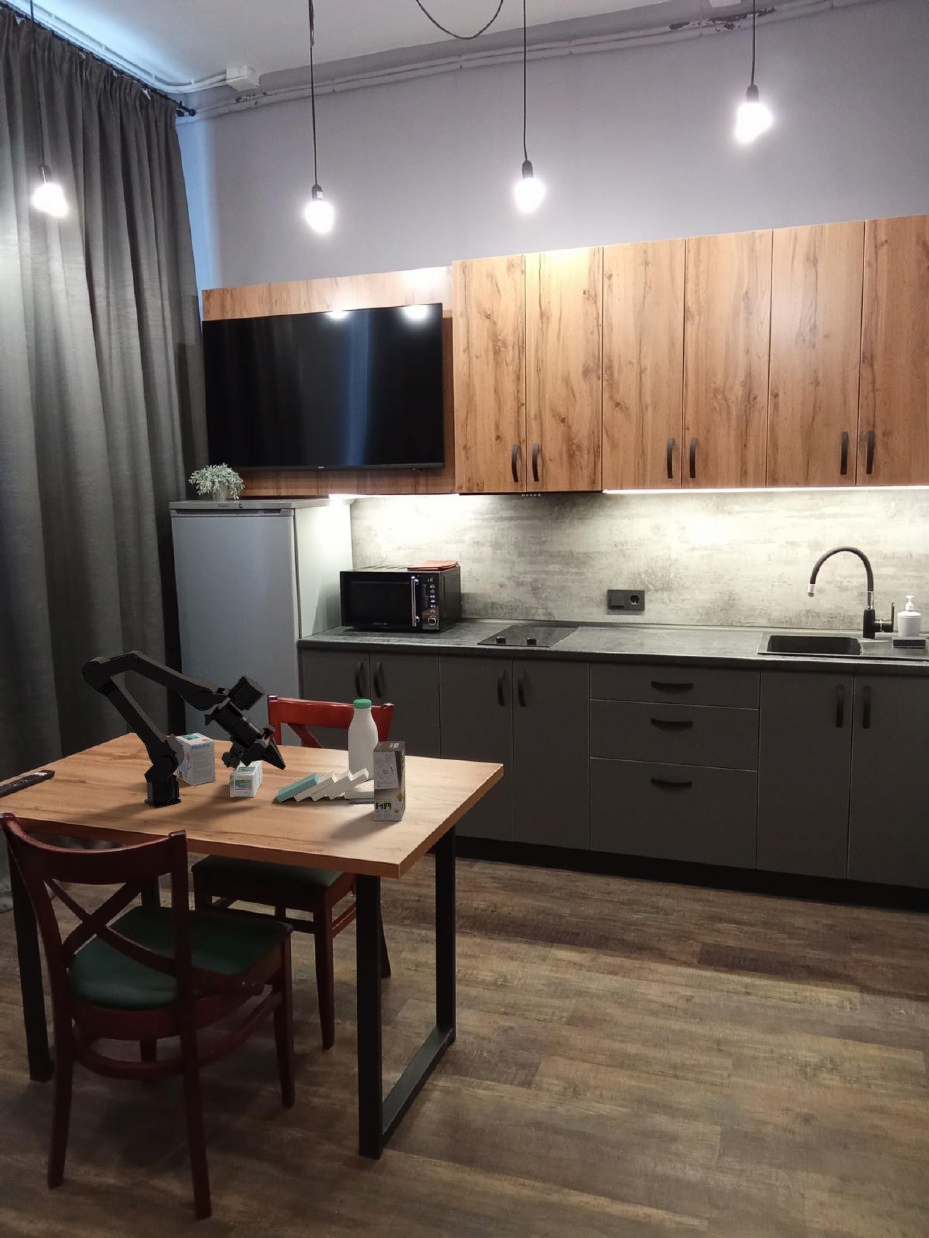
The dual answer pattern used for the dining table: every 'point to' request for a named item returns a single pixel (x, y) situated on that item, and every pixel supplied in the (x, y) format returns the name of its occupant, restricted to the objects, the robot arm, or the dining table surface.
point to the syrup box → (245, 779)
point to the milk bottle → (362, 738)
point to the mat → (361, 800)
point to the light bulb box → (197, 759)
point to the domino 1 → (297, 787)
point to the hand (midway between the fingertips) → (284, 768)
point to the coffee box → (389, 781)
